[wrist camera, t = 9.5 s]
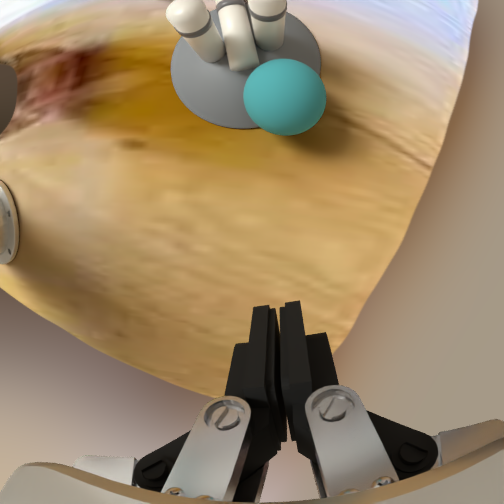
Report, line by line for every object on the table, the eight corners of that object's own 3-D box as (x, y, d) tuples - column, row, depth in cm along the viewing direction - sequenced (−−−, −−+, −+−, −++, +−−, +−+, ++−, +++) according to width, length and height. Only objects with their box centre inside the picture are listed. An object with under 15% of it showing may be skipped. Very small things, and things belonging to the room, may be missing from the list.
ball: (236, 59, 17) (239, 127, 21) (250, 58, 13) (253, 148, 17) (308, 60, 18) (307, 124, 22) (343, 63, 14) (337, 145, 18)
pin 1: (201, 67, 20) (166, 29, 12) (197, 44, 19) (163, 2, 11) (229, 60, 19) (207, 17, 11) (224, 37, 18) (201, -10, 10)
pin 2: (258, 54, 19) (249, 8, 11) (252, 32, 18) (241, -18, 10) (286, 50, 19) (292, 2, 11) (280, 28, 18) (282, -24, 10)
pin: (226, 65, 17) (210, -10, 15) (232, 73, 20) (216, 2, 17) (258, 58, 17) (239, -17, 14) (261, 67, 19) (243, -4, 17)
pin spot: (184, 143, 22) (183, 143, 22) (164, 24, 18) (163, 23, 18) (334, 116, 20) (335, 116, 20) (300, -4, 16) (301, -5, 16)
